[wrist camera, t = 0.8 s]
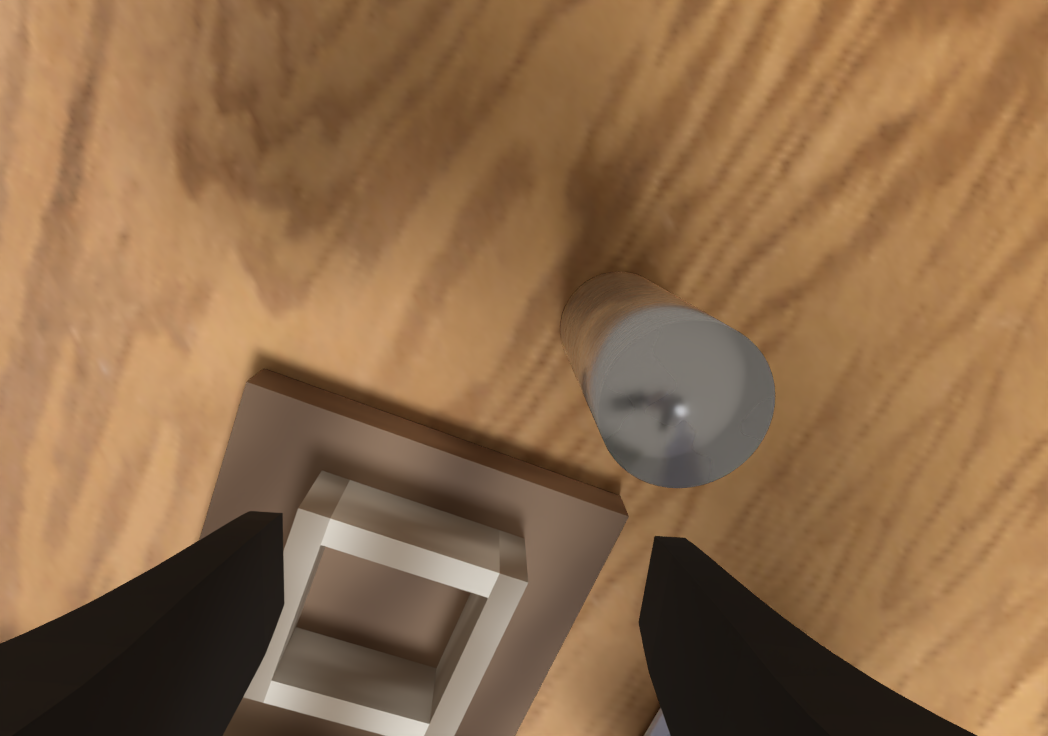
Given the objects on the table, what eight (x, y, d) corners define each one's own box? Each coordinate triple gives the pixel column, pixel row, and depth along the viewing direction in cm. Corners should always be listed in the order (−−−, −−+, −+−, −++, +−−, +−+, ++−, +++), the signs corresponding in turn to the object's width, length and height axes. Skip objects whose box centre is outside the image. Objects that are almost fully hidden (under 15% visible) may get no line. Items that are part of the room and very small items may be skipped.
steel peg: (691, 297, 20) (807, 360, 13) (641, 396, 21) (722, 510, 14) (588, 253, 20) (646, 292, 12) (542, 358, 21) (569, 454, 13)
